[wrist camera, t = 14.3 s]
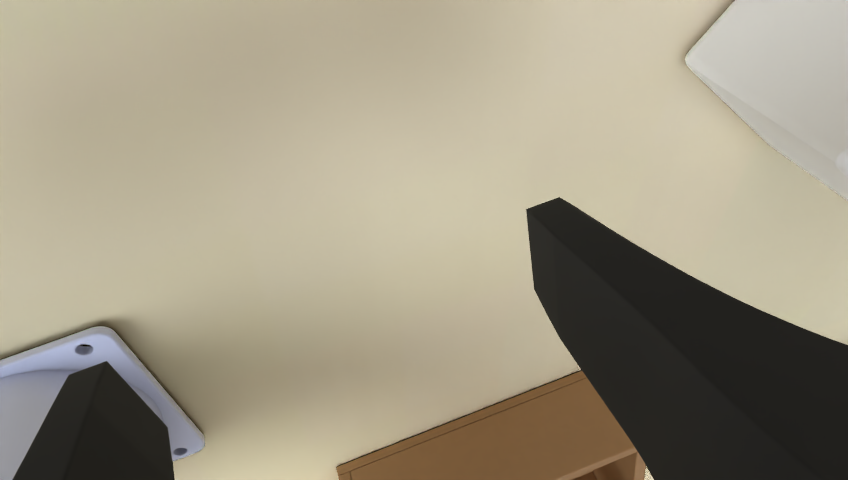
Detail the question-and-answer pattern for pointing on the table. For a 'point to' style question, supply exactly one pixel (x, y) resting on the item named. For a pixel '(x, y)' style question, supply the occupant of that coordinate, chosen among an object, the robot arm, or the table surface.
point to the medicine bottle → (785, 78)
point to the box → (515, 442)
